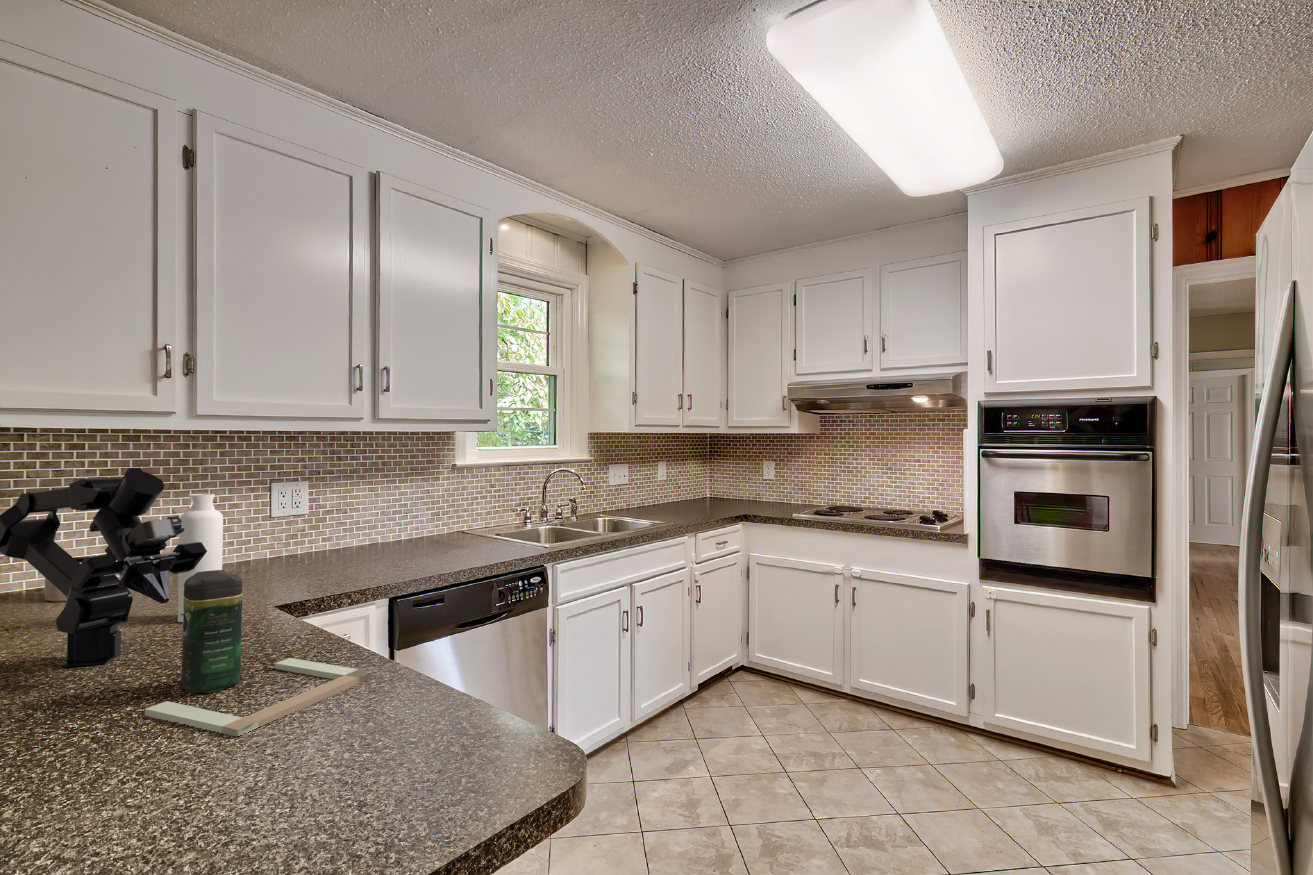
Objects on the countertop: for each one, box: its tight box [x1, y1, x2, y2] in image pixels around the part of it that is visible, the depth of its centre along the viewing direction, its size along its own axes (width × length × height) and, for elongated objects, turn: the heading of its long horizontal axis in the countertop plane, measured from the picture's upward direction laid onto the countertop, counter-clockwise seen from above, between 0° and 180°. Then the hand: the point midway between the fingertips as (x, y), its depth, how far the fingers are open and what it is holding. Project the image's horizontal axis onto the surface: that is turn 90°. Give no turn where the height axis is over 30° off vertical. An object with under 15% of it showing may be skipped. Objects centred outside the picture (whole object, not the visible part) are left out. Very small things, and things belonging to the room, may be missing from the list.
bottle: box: [177, 493, 224, 624], centre depth 145 cm, size 8×8×28 cm
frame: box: [144, 657, 373, 737], centre depth 102 cm, size 19×24×1 cm
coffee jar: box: [181, 569, 244, 694], centre depth 106 cm, size 10×8×19 cm
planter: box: [43, 556, 90, 603], centre depth 163 cm, size 11×11×10 cm
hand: (166, 601), depth 110 cm, fingers closed
